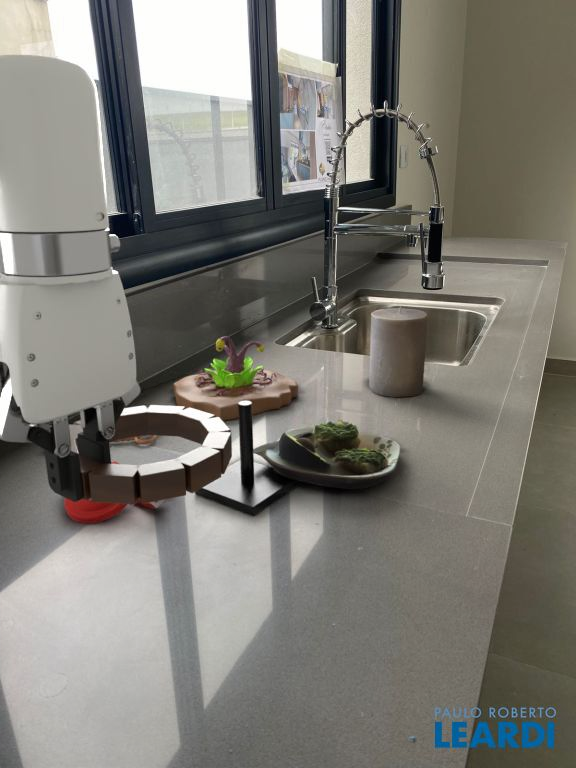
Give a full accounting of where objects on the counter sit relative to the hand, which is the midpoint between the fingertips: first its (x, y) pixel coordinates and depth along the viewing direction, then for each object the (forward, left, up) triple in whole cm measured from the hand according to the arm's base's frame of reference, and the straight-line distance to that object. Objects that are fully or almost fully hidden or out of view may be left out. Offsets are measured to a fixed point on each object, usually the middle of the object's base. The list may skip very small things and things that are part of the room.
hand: (82, 487), depth 48 cm
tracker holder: (-13, +13, -12) cm, 22 cm away
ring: (0, +7, 0) cm, 7 cm away
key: (-29, +23, -12) cm, 39 cm away
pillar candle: (-6, +69, -12) cm, 70 cm away
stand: (-4, +25, -12) cm, 28 cm away
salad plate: (+1, +35, -12) cm, 37 cm away
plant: (-27, +49, -12) cm, 57 cm away
